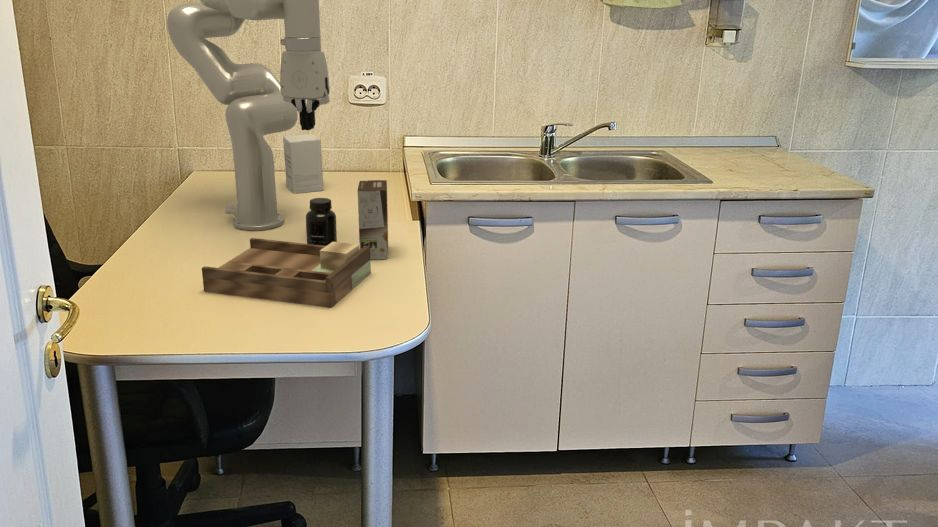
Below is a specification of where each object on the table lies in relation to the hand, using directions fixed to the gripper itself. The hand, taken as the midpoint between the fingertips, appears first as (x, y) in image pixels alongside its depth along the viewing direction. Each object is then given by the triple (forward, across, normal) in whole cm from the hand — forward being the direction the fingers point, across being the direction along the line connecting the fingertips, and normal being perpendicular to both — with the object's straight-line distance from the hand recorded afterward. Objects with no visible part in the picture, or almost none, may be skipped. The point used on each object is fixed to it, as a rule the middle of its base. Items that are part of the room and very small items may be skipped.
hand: (307, 129), depth 194 cm
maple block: (+24, +16, -19) cm, 35 cm away
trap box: (+27, +6, -24) cm, 37 cm away
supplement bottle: (+27, +4, -4) cm, 28 cm away
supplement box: (+27, -24, +44) cm, 57 cm away
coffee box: (+27, +16, -2) cm, 32 cm away
